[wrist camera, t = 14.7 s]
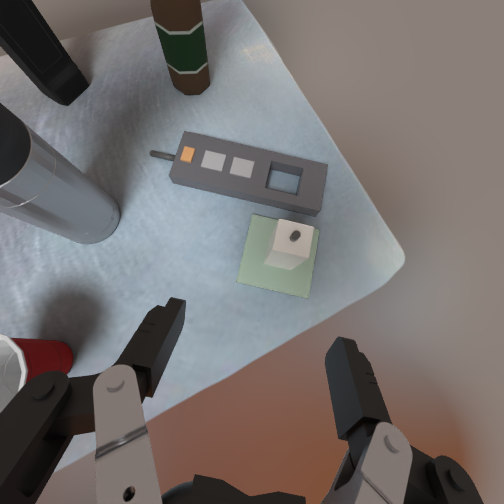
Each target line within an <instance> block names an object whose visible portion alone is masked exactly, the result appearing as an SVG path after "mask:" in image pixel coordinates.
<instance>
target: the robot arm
mask: <svg viewBox="0 0 504 504" xmlns="http://www.w3.org/2000/svg"><path fill="white" fill-rule="evenodd" d="M0 212H2V213H4V214H7V215H9V216H12V217H15V218H17V219H20V220H22V221H25V222H27V223H30V224H32V225H35V226H37V227H40V228H42V229H45V230H47V231H50V232H52V233H55V234H57V235H60V236H62V237H65V238H67V239H70V240H72V241H75V242H78V243H82V244H92V243H97V242H100V241H102V240H104V239H106V238H107V237H108V236H110V235H111V234H112V233H113V231H114V230H115V229H116V227H117V225H118V222H119V219H120V212H119V207H118V205H117V203H116V202H115V201H114V200H113V199H112V198H111V197H110V196H109V195H108V194H107V193H105V192H104V191H103V190H102V189H101V188H100V187H99V186H97V185H96V184H95V183H94V182H93V181H92V180H90V179H89V178H88V177H87V176H86V175H85V174H83V173H82V172H81V171H80V170H79V169H78V168H76V167H75V166H74V165H73V164H72V163H71V162H69V161H68V160H67V159H66V158H65V157H63V156H62V155H61V154H60V153H59V152H58V151H56V150H55V149H54V148H53V147H52V146H51V145H49V144H48V143H47V142H46V141H45V140H43V139H42V138H41V137H40V136H39V135H38V134H36V133H35V132H34V131H33V130H32V129H31V128H29V127H28V126H27V125H26V124H25V123H24V122H22V121H21V120H20V119H19V118H18V117H17V116H15V115H14V114H13V113H12V112H11V111H9V110H8V109H7V108H6V107H5V106H3V105H2V104H1V103H0ZM185 309H186V300H182V299H177V298H173V297H171V298H170V299H169V301H168V302H167V304H166V306H165V307H163V306H159V305H157V306H156V307H154V308H153V309H152V310H150V311H149V312H148V313H147V315H146V316H145V318H144V320H143V321H142V323H141V324H140V326H139V327H138V329H137V331H136V332H135V334H134V335H133V337H132V338H131V340H130V341H129V343H128V344H127V346H126V348H125V349H124V351H123V352H122V354H121V355H120V357H119V359H118V360H117V361H116V362H115V363H114V365H112V366H111V367H110V368H108V369H106V370H105V371H103V372H101V373H99V374H95V375H89V376H81V377H72V378H68V376H67V375H66V374H65V373H64V372H62V371H48V372H44V373H41V374H39V375H37V376H35V377H34V378H32V379H31V380H29V381H28V382H27V383H26V384H25V385H24V386H23V387H22V388H21V389H20V390H19V392H18V393H17V394H16V395H15V396H14V397H13V399H12V400H11V401H10V402H9V403H8V405H7V406H6V407H5V408H4V409H3V410H2V412H1V413H0V504H35V503H36V501H37V500H38V498H39V496H40V494H41V493H42V491H43V489H44V487H45V486H46V483H47V482H48V480H49V479H50V477H51V475H52V473H53V472H54V470H55V468H56V466H57V465H58V463H59V461H60V459H61V458H62V456H63V454H64V452H65V451H66V449H67V447H68V445H69V444H70V442H71V440H72V438H73V436H74V435H78V434H84V433H89V432H95V431H96V455H95V473H96V491H97V504H306V500H305V497H303V496H297V495H293V494H288V493H283V492H273V493H268V494H262V495H257V496H248V495H246V494H244V493H243V492H241V491H240V490H238V489H236V488H235V487H233V486H231V485H230V484H228V483H226V482H225V481H223V480H220V479H216V478H211V477H206V476H201V475H196V474H195V476H194V479H193V481H190V482H185V483H182V484H180V485H177V486H175V487H173V488H172V489H170V490H169V491H167V492H166V493H164V494H163V495H162V496H161V494H160V489H159V485H158V479H157V474H156V470H155V464H154V459H153V454H152V450H151V445H150V440H149V435H148V430H147V428H146V424H145V419H144V414H143V409H142V403H143V401H144V399H145V397H151V398H152V397H153V395H154V393H155V390H156V388H157V386H158V384H159V381H160V379H161V377H162V374H163V372H164V370H165V368H166V365H167V363H168V361H169V358H170V356H171V354H172V352H173V349H174V347H175V345H176V343H177V340H178V338H179V336H180V333H181V331H182V328H183V325H184V320H185ZM325 367H326V373H327V378H328V384H329V390H330V395H331V400H332V406H333V412H334V417H335V423H336V428H337V434H338V439H341V440H345V441H348V445H349V449H348V450H347V451H346V454H345V456H344V458H343V461H342V463H341V465H340V467H339V470H338V472H337V474H336V477H335V479H334V481H333V483H332V486H331V488H330V490H329V492H328V494H327V495H326V496H325V498H324V499H323V500H322V502H321V504H484V503H483V502H482V499H481V497H480V495H479V493H478V491H477V489H476V487H475V485H474V483H473V481H472V480H471V478H470V476H469V475H468V474H467V472H466V471H465V470H464V469H463V468H462V467H461V466H460V465H459V464H458V463H457V462H456V461H454V460H453V459H451V458H449V457H447V456H443V455H442V456H438V457H436V458H435V459H433V458H431V457H430V456H428V455H426V454H424V453H423V452H421V451H419V450H418V449H416V448H414V447H413V446H411V445H410V444H409V443H408V441H407V439H406V438H405V436H404V435H403V434H402V432H401V431H400V430H399V429H398V428H396V427H395V426H393V424H392V422H391V420H390V417H389V414H388V411H387V408H386V406H385V403H384V400H383V397H382V394H381V392H380V389H379V387H378V385H377V381H376V378H375V377H374V372H373V370H372V367H371V364H370V362H369V361H368V360H367V358H366V356H365V355H364V354H363V353H361V352H359V350H358V348H357V344H356V342H355V341H354V340H352V339H348V338H344V337H338V338H336V340H335V341H334V343H333V344H332V346H331V347H330V349H329V350H328V352H327V354H326V357H325Z"/></svg>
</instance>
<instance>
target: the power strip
mask: <svg viewBox="0 0 504 504" xmlns="http://www.w3.org/2000/svg"><path fill="white" fill-rule="evenodd" d="M150 155H151V156H153V157H157V158H162V159H166V160H170V161H174V162H173V165H172V168H171V171H170V174H169V177H170V179H171V180H172V182H173V183H175V184H179V185H183V186H187V187H192V188H196V189H200V190H204V191H209V192H213V193H217V194H222V195H226V196H230V197H234V198H239V199H243V200H247V201H251V202H256V203H260V204H264V205H268V206H273V207H277V208H281V209H286V210H290V211H294V212H298V213H303V214H307V215H311V216H316V215H317V214H318V213H319V212H320V209H321V203H322V197H323V191H324V185H325V178H326V172H327V166H328V165H327V164H322V163H318V162H314V161H310V160H305V159H301V158H297V157H293V156H288V155H284V154H280V153H276V152H271V151H267V150H263V149H259V148H254V147H250V146H246V145H242V144H237V143H233V142H229V141H225V140H221V139H216V138H212V137H208V136H204V135H199V134H195V133H191V132H187V131H184V133H183V136H182V139H181V142H180V145H179V148H178V151H177V153H176V156H174V155H170V154H166V153H162V152H157V151H153V150H151V151H150ZM269 169H272V170H276V171H280V172H285V173H289V174H293V175H297V176H300V178H299V183H298V188H297V193H296V195H293V194H289V193H285V192H280V191H276V190H272V189H267V188H265V186H266V181H267V177H268V173H269Z"/></svg>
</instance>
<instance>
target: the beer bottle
mask: <svg viewBox="0 0 504 504" xmlns="http://www.w3.org/2000/svg"><path fill="white" fill-rule="evenodd" d="M151 9H152V13H153V18H154V22H155V25H156V29H157V32H158V35H159V39H160V42H161V46H162V49H163V53H164V56H165V59H166V63H167V66H168V70H169V73H170V76H171V79H172V82H173V85H174V87H175V88H177V89H178V90H179V91H181V92H182V93H184V94H185V95H200V94H201V93H202V92H203V91H204V90H206V89H207V88H208V87H209V85H210V81H209V68H208V59H207V51H206V42H205V34H204V26H203V18H202V10H201V3H200V0H151Z"/></svg>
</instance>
